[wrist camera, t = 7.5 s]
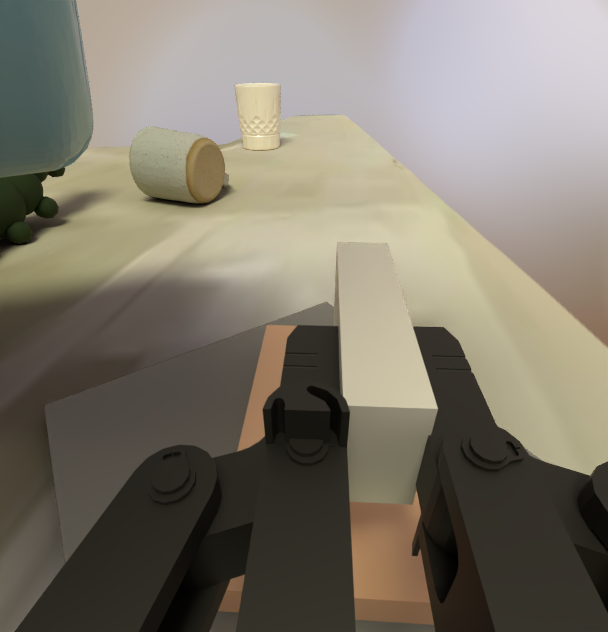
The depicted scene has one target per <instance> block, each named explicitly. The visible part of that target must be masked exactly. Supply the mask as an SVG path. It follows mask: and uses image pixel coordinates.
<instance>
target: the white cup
mask: <svg viewBox="0 0 608 632" xmlns="http://www.w3.org/2000/svg"><path fill="white" fill-rule="evenodd" d="M280 88H281V87H280V84H273V83H252V84H237V85H235V94H236V101H237V109H238V117H239V123H240V129H241V132H242V139H243V146H244V148H245V149H248V150H271V149H276V148H278V147H279V146H280V133H279V131H280V114H281V112H280V111H281V107H280V103H281V101H280V90H281V89H280Z"/></svg>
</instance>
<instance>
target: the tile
mask: <svg viewBox="0 0 608 632" xmlns="http://www.w3.org/2000/svg"><path fill="white" fill-rule="evenodd" d="M295 328H296V326H290V325H267V326H266V330H265V335H264V339H263V343H262V347H261V352H260V356H259V360H258V365H257V369H256V373H255V377H254V382H253V386H252V390H251V394H250V399H249V403H248V407H247V412H246V416H245V420H244V424H243V429H242V433H241V437H240V442H239V446H238V450H237V452H238V451H240V450H243V449H246V448H249V447H251V446H252V445H254V444H256V443H257V442H259V441H260V440H261V439H262V438H263V437H264V436H265V430H264V420H263V410H262V409H263V407H264V404H265V402H266V400H267V398H268V396H269V395H271V394H272V393H273V392H274V391H275V390H276V389H277V388H278V387H280V383H281V376H282V369H283V363H284V356H285V349H286V343H287V337H288V336H289V335H290V334H291V332H292V331H293V330H294V329H295ZM420 515H421V510H420V505H419V500H418V495H417V490H416V493H415V497H414V501H413V505H409V504H388V503H367V502H350V519H351V540H352V561H353V583H354V604H355V620H366V621H382V622H398V623H413V624H429V625H434V622H433V616H432V611H431V605H430V599H429V594H428V588H427V583H426V577H425V572H424V566H423V561H422V555H421V550H420V551H419V554H418V556H412V542H413V539H414V536H415V532H416V529H417V525H418V522H419V519H420ZM244 577H245V575H242V576H239V577H236V578H233V579H231V580H230V582H229V585H228V587H227V590H226V592H225V595H224V597H223V600H222V602H221V605H220V607H219V609H218V611H223V612H238V613H239V608H240V602H241V595H242V589H243V583H244Z"/></svg>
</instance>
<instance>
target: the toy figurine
mask: <svg viewBox="0 0 608 632" xmlns="http://www.w3.org/2000/svg"><path fill="white" fill-rule="evenodd" d="M64 172H65V168H64V167H63V168H61V169H58V170H55V171H48V172H41V173H33V174H25V175H17V176H10V177H2V178H0V239H2V238H4V237H7V238H8V239H9V240H10V241H12V242H13V243H17V244H20V243H26V242H28V241H29V240H30V239H31V238H32V236H33V233H32V229H31V228H30V227H29V226H28V224H27V223H25V222H24V220H25V217H26V215H28V214H30V213H32V212H33V211H35V213H36V214H37V215H38V216H40V217H43V218H53V217H54V216H55V215H56V214H57V213H58V205H57V203H56V201H54V200H53V199H51V198H49V197H43V187H42V184H41V182H43V181H44V180H45V179H46V177H47V175H50V176H52V177H59V176H62V175H63V174H64Z"/></svg>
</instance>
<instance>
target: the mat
mask: <svg viewBox="0 0 608 632" xmlns="http://www.w3.org/2000/svg"><path fill="white" fill-rule="evenodd" d="M267 325H290V326H297V325H317V326H334V307H333V306H332V305H330V304H329V303H328V302H325V303H322V304H319V305H317V306H314V307H311V308H308V309H306V310H303V311H300V312H297V313H295V314H292V315H289V316H286V317H284V318H281V319H278V320H275V321H273V322H270V323H267V324H265V325H262V326H259V327H256V328H254V329H251V330H248V331H245V332H243V333H240V334H237V335H234V336H232V337H229V338H226V339H224V340H221V341H218V342H215V343H213V344H210V345H207V346H204V347H202V348H199V349H196V350H193V351H191V352H188V353H185V354H183V355H180V356H177V357H174V358H172V359H169V360H166V361H163V362H161V363H158V364H155V365H152V366H150V367H147V368H144V369H141V370H139V371H136V372H133V373H131V374H128V375H125V376H122V377H120V378H117V379H114V380H111V381H109V382H106V383H103V384H100V385H98V386H95V387H92V388H90V389H87V390H84V391H81V392H79V393H76V394H73V395H70V396H68V397H65V398H62V399H59V400H57V401H54V402H51V403H49V404H46V405H44V409H45V417H46V424H47V432H48V439H49V447H50V454H51V462H52V470H53V477H54V485H55V492H56V500H57V508H58V515H59V523H60V530H61V538H62V546H63V553H64V561H65V563H66V562H67V561H68V559H69V558H70V557H71V555H72V554H73V553H74V551H75V550H76V549H77V547H78V546H79V545H80V543H81V542H82V541H83V539H84V538H85V537H86V535H87V534H88V533H89V531H90V530H91V528H92V527H93V526H94V524H95V523H96V522H97V520H98V519H99V518H100V516H101V515H102V514H103V512H104V511H105V510H106V508H107V507H108V506H109V504H110V503H111V502H112V500H113V499H114V498H115V496H116V495H117V494H118V492H119V491H120V490H121V488H122V487H123V486H124V484H125V483H126V482H127V480H128V479H129V477H130V476H131V475H132V473H133V472H134V471H135V470H136V469H137V468H138V467H139V466H140V465H141V464H142V463H143V462H144V461H145V460H146V459H147V458H148V457H149V456H151V455H153V454H154V453H156V452H158V451H160V450H162V449H163V448H167V447H172V446H176V445H193V446H197V447H199V448H201V449H203V450H205V451H207V452H208V453H209V455H210V456H211V457H212V458H214V457H218V456H222V455H226V454H230V453H234V452H237V450H238V446H239V442H240V437H241V433H242V429H243V424H244V420H245V416H246V412H247V407H248V403H249V399H250V394H251V390H252V386H253V382H254V377H255V373H256V369H257V365H258V360H259V356H260V352H261V347H262V343H263V339H264V335H265V330H266V326H267ZM525 450H526V451H527V452H528V454H529V455H530V456H532V457H534V458H536V459H539V458H538V457H536V456H535V455H533V454H532V453H531V452H529V451H528V450H527V449H525ZM539 460H540V459H539ZM541 461H542V460H541ZM238 614H239V613H238V612H223V611H218V612H217V614H216V617H215V619H214V622H213V624H212V627H211V629H210V632H236V626H237V620H238ZM355 625H356V632H435V627H434V625H429V624H413V623H398V622H382V621H366V620H355Z"/></svg>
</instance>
